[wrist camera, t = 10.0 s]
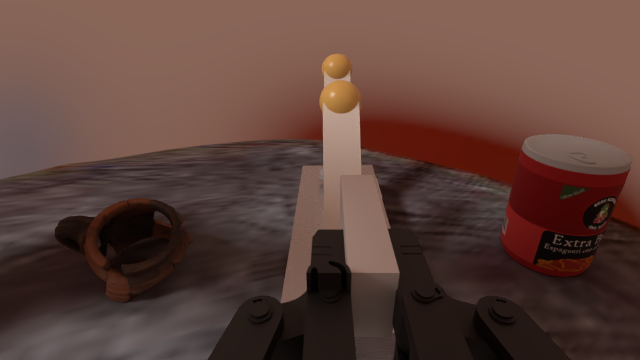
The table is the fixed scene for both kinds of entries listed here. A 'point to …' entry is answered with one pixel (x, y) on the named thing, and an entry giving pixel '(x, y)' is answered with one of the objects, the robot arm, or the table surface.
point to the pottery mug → (127, 243)
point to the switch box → (309, 217)
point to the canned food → (562, 202)
